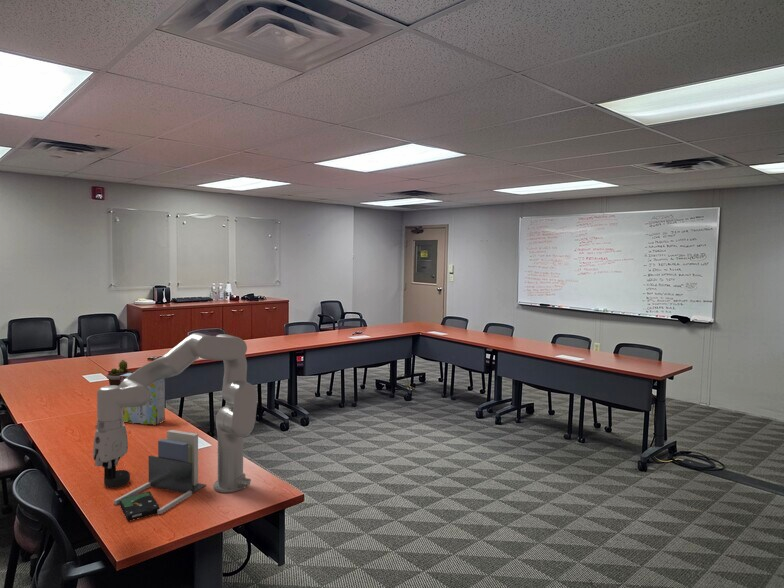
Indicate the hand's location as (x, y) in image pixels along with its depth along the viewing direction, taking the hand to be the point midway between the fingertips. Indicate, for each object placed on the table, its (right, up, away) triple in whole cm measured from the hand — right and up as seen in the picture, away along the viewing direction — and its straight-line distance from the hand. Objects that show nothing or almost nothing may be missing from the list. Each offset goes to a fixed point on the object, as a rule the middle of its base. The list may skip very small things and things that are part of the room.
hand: (110, 478), depth 167 cm
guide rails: (+6, -15, +19) cm, 25 cm away
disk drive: (+4, -16, +12) cm, 20 cm away
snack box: (-41, -8, +105) cm, 112 cm away
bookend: (+9, -14, +30) cm, 35 cm away
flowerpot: (-88, -3, +169) cm, 190 cm away
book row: (+9, -14, +30) cm, 34 cm away
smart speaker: (-15, -14, +31) cm, 37 cm away
